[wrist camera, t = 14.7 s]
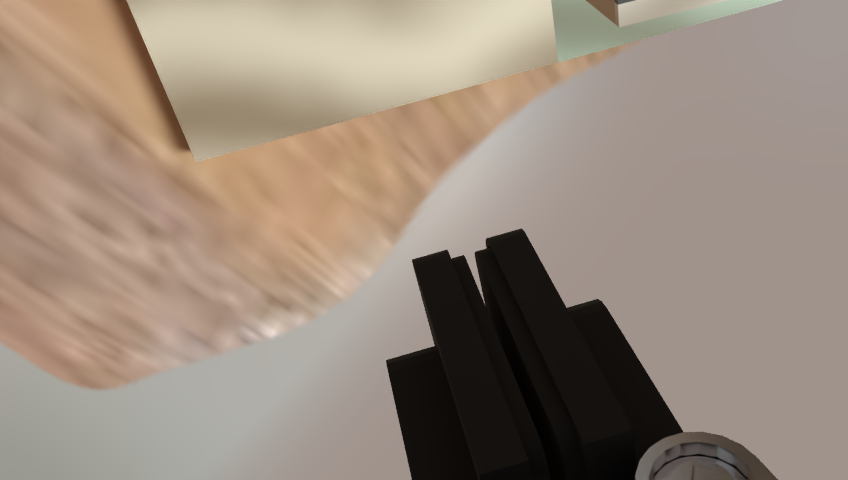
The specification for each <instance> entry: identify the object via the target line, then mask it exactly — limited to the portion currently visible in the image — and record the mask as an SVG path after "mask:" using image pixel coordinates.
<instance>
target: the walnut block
mask: <svg viewBox="0 0 848 480" xmlns="http://www.w3.org/2000/svg"><path fill="white" fill-rule="evenodd" d="M586 1H587V2H588V3H590V4H591V5H592V6H593V7H594V8H596V9H597V10H598V11H599V12H601V13H602V14H603V15H604V16H606V17H607V18H608V19H609V20H610V21H612V22H613V23H614V24H615V25H617V26H618V27H623V26H627V25H631V24H635V23H639V22H643V21H647V20H651V19H655V18H658V17H662V16H666V15H670V14H674V13H678V12H682V11H686V10H690V9H694V8H698V7H702V6H706V5H710V4H714V3H718V2H722V1H726V0H586Z"/></svg>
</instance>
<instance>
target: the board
mask: <svg viewBox="0 0 848 480" xmlns="http://www.w3.org/2000/svg"><path fill="white" fill-rule="evenodd" d="M779 1H782V0H726V1H722V2H718V3H714V4H710V5H706V6H702V7H698V8H694V9H690V10H686V11H682V12H678V13H674V14H670V15H666V16H662V17H658V18H655V19H651V20H647V21H643V22H639V23H635V24H631V25H627V26H623V27H618V26H617V25H615V24H614V23H613V22H612V21H610V20H609V19H608V18H607V17H606V16H604V15H603V14H602V13H601V12H599V11H598V10H597V9H596V8H594V7H593V6H592V5H591V4H590V3H588V2H587V1H586V0H127V3H128V5H129V7H130V10H131V12H132V14H133V17H134V19H135V21H136V24H137V26H138V28H139V31H140V33H141V35H142V38H143V40H144V42H145V45H146V47H147V49H148V52H149V54H150V56H151V59H152V61H153V63H154V66H155V68H156V70H157V73H158V75H159V77H160V80H161V82H162V84H163V87H164V89H165V91H166V94H167V96H168V98H169V101H170V103H171V105H172V108H173V110H174V112H175V115H176V117H177V119H178V122H179V124H180V126H181V129H182V131H183V133H184V136H185V138H186V140H187V143H188V145H189V147H190V150H191V152H192V154H193V157H194V159H195V161H196V162H199V161H202V160H206V159H209V158H213V157H217V156H220V155H224V154H228V153H231V152H235V151H238V150H242V149H246V148H249V147H253V146H257V145H260V144H264V143H267V142H271V141H275V140H278V139H282V138H286V137H289V136H293V135H296V134H300V133H304V132H307V131H311V130H315V129H318V128H322V127H325V126H329V125H333V124H336V123H340V122H344V121H347V120H351V119H354V118H358V117H362V116H365V115H369V114H373V113H376V112H380V111H383V110H387V109H391V108H394V107H398V106H402V105H405V104H409V103H412V102H416V101H420V100H423V99H427V98H431V97H434V96H438V95H441V94H445V93H449V92H452V91H456V90H460V89H463V88H467V87H470V86H474V85H478V84H481V83H485V82H489V81H492V80H496V79H499V78H503V77H507V76H510V75H514V74H518V73H521V72H525V71H528V70H532V69H536V68H539V67H543V66H547V65H550V64H554V63H557V62H561V61H565V60H568V59H572V58H576V57H579V56H583V55H586V54H590V53H594V52H597V51H601V50H605V49H608V48H612V47H615V46H619V45H623V44H626V43H630V42H634V41H637V40H641V39H644V38H648V37H652V36H655V35H659V34H663V33H666V32H670V31H673V30H677V29H681V28H684V27H688V26H692V25H695V24H699V23H702V22H706V21H710V20H713V19H717V18H720V17H724V16H728V15H731V14H735V13H739V12H742V11H746V10H750V9H753V8H757V7H760V6H764V5H767V4H771V3H775V2H779Z"/></svg>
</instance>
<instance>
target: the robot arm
mask: <svg viewBox="0 0 848 480" xmlns="http://www.w3.org/2000/svg"><path fill="white" fill-rule="evenodd" d="M486 247H487V249H484V250H480V251H477V252H475V258H476V263H477V268H478V273H479V278H480V282H481V287H482V292H483V297H484V301H485V304H484V302H483V299H482V297H481V294H480V292H479V290H478V287H477V285H476V282H475V280H474V277H473V275H472V273H471V270H470V268H469V266H468V263H467V260H466V258H465V256H464V255H463V256H459V257H456V258H452V259H451V257H450V255H449V252H448V250H444V251H441V252H437V253H434V254H430V255H427V256H424V257H420V258H416V259H413V260H412V262H413V266H414V270H415V274H416V277H417V281H418V285H419V289H420V292H421V296H422V300H423V304H424V307H425V311H426V314H427V318H428V322H429V326H430V329H431V333H432V336H433V341H434V344H435V346H434V347H430V348H427V349H423V350H420V351H416V352H413V353H410V354H406V355H402V356H399V357H396V358H392V359H389V360H386V363H387V368H388V373H389V378H390V382H391V386H392V391H393V395H394V400H395V405H396V409H397V414H398V418H399V423H400V427H401V431H402V436H403V441H404V445H405V450H406V454H407V458H408V463H409V467H410V472H411V477H412V480H778V479H777V478H776V477H775V476H774V475H773V474H772V473H771V472H770V471H769V470H768V469H767V468H766V466H765V465H764V464H763V463H762V462H761V461H760V460H759V459H758V458H757V457H756V456H755V455H754V454H752V453H751V452H750V451H749V450H747V449H746V448H745V447H744V446H743V445H741V444H739V443H737V442H735V441H733V440H730V439H728V438H726V437H724V436H720V435H716V434H711V433H706V432H683V431H682V429H681V427H680V426H679V424H678V422H677V421H676V419H675V418H674V416H673V414H672V413H671V411H670V409H669V408H668V406H667V405H666V403H665V401H664V400H663V398H662V397H661V395H660V393H659V392H658V390H657V388H656V387H655V385H654V384H653V382H652V380H651V379H650V377H649V376H648V374H647V372H646V371H645V369H644V368H643V366H642V364H641V363H640V361H639V360H638V358H637V356H636V354H635V353H634V351H633V350H632V348H631V346H630V345H629V343H628V342H627V340H626V339H625V337H624V335H623V333H622V332H621V330H620V329H619V327H618V325H617V324H616V322H615V321H614V319H613V317H612V316H611V314H610V312H609V311H608V309H607V308H606V306H605V305H604V304H603V303H602V301H600V300H599V299H596V300H593V301H589V302H586V303H582V304H579V305H575V306H572V307H569V308H566V306H565V304H564V303H563V301H562V299H561V297H560V295H559V293H558V292H557V290H556V288H555V286H554V284H553V283H552V281H551V279H550V277H549V275H548V274H547V272H546V270H545V268H544V266H543V264H542V263H541V261H540V259H539V257H538V255H537V253H536V252H535V250H534V248H533V246H532V244H531V243H530V241H529V239H528V237H527V235H526V233H525V232H524V231H523V229H518V230H515V231H511V232H508V233H504V234H501V235H497V236H494V237H490V238H487V239H486ZM485 306H486V307H485Z"/></svg>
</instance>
